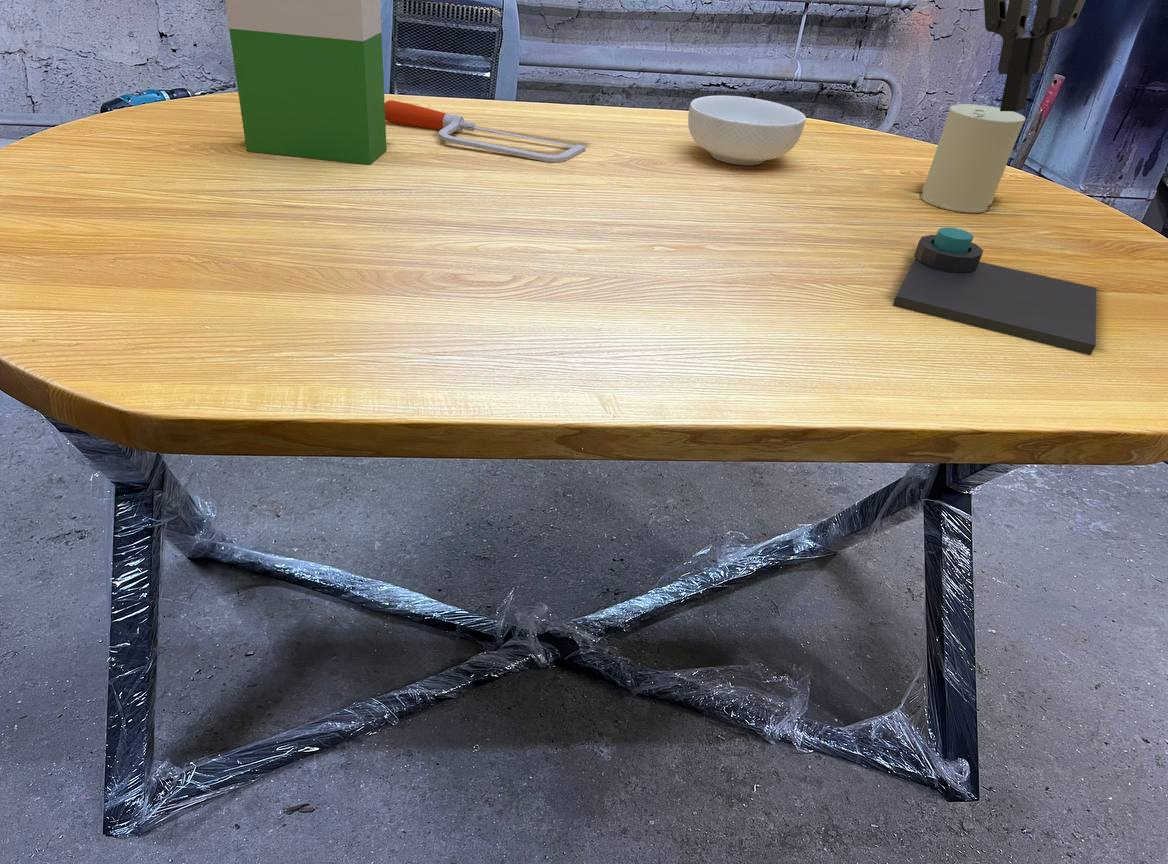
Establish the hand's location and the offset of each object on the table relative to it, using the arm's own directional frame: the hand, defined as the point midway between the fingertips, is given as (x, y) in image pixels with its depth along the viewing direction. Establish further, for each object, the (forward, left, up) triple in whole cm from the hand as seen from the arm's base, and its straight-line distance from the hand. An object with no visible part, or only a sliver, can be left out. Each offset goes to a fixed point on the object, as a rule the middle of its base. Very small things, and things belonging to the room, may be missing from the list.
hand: (1012, 109), depth 84 cm
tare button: (+1, +3, -14) cm, 14 cm away
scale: (-5, +9, -17) cm, 19 cm away
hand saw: (+69, -6, -17) cm, 71 cm away
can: (+3, -25, -17) cm, 30 cm away
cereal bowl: (+34, -25, -17) cm, 45 cm away
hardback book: (+83, +13, -17) cm, 85 cm away
